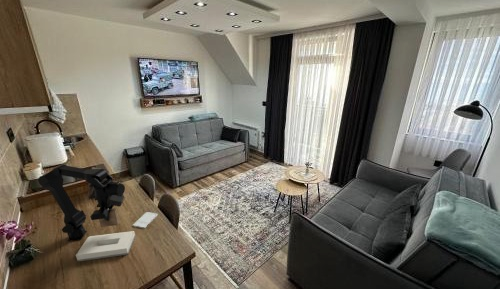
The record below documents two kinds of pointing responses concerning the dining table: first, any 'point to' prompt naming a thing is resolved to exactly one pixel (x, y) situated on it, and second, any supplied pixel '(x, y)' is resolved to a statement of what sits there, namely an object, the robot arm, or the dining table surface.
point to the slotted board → (106, 246)
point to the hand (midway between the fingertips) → (109, 219)
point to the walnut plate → (110, 219)
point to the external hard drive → (144, 220)
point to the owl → (92, 188)
